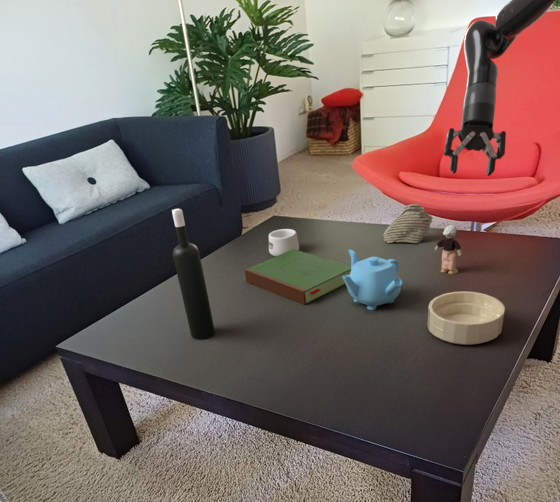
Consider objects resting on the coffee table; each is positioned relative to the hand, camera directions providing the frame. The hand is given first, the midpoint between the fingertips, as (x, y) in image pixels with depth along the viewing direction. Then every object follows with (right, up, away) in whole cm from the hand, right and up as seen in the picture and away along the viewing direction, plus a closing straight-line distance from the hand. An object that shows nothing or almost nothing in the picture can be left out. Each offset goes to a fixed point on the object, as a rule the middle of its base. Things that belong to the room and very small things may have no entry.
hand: (471, 173), depth 131 cm
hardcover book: (-42, -25, +15) cm, 51 cm away
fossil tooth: (-8, -9, +33) cm, 35 cm away
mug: (-47, -11, +36) cm, 61 cm away
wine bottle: (-67, -41, -4) cm, 78 cm away
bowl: (-7, -40, -15) cm, 44 cm away
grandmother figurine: (-3, -23, +11) cm, 25 cm away
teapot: (-25, -32, +1) cm, 41 cm away
